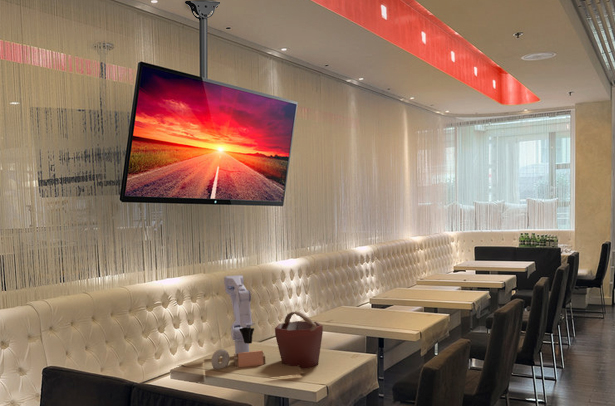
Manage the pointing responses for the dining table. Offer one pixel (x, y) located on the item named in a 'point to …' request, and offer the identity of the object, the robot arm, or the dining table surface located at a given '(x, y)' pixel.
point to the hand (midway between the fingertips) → (248, 343)
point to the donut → (216, 359)
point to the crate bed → (238, 363)
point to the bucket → (299, 341)
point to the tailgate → (250, 358)
